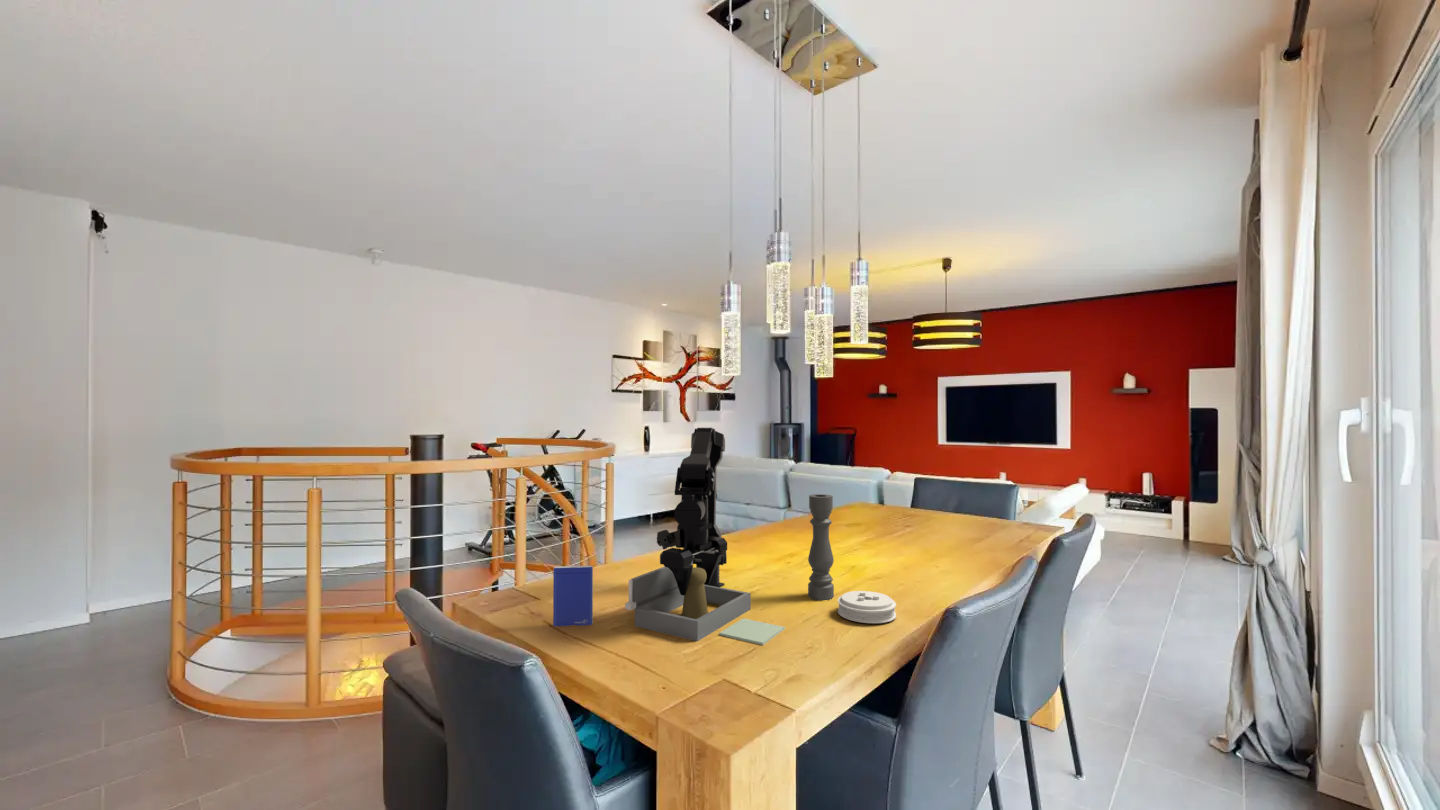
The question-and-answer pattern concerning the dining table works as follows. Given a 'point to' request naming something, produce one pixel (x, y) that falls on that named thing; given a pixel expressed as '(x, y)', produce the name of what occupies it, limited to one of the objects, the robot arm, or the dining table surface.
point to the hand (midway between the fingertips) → (695, 589)
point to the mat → (752, 631)
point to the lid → (866, 607)
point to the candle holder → (820, 548)
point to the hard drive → (572, 595)
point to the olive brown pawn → (695, 595)
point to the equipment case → (662, 595)
